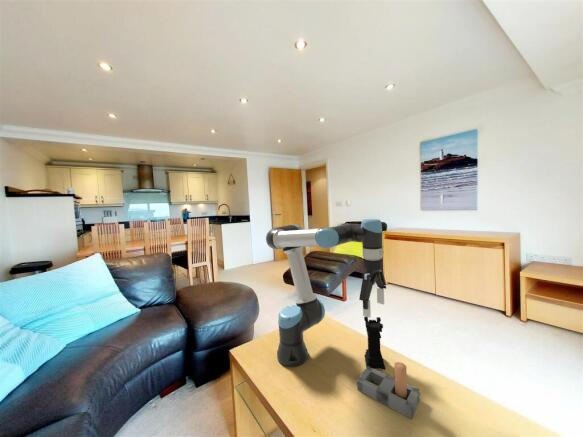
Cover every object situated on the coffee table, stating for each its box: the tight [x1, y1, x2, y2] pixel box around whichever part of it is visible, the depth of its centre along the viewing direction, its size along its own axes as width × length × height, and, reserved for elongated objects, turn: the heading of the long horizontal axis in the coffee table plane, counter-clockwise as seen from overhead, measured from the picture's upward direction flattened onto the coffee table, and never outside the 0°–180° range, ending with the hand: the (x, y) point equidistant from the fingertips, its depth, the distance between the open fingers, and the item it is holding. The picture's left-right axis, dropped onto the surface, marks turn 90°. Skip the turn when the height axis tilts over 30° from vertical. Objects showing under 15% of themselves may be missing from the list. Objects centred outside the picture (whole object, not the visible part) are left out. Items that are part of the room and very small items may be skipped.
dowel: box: [393, 361, 408, 401], centre depth 86 cm, size 4×4×14 cm
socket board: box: [356, 366, 421, 420], centre depth 90 cm, size 20×10×4 cm, turn 48°
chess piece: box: [363, 316, 386, 370], centre depth 107 cm, size 8×8×20 cm
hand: (374, 309), depth 95 cm, fingers open, 13 cm apart
